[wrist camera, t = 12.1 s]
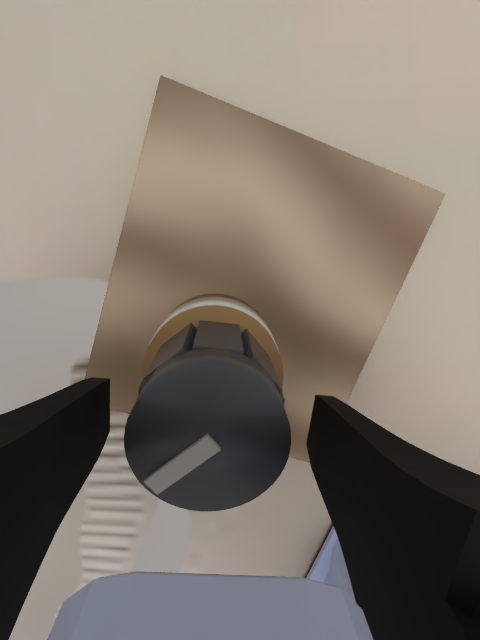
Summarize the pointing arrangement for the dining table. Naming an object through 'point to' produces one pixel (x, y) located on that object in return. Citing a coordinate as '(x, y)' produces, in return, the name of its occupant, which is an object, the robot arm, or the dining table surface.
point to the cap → (209, 420)
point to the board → (259, 246)
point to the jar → (215, 311)
